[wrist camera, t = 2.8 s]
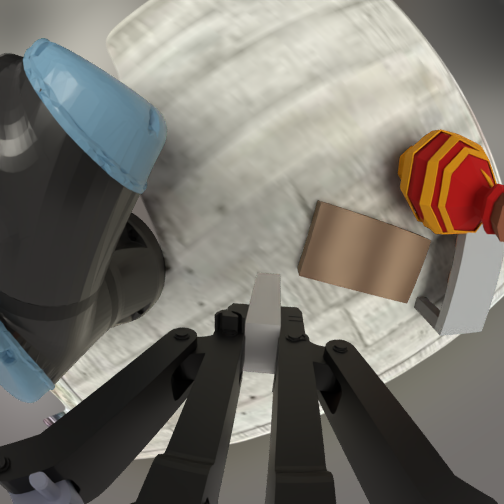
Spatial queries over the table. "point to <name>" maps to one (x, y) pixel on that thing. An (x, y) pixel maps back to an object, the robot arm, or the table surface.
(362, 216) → the panel
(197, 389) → the robot arm
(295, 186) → the table surface
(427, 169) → the potion bottle
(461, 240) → the shelf
